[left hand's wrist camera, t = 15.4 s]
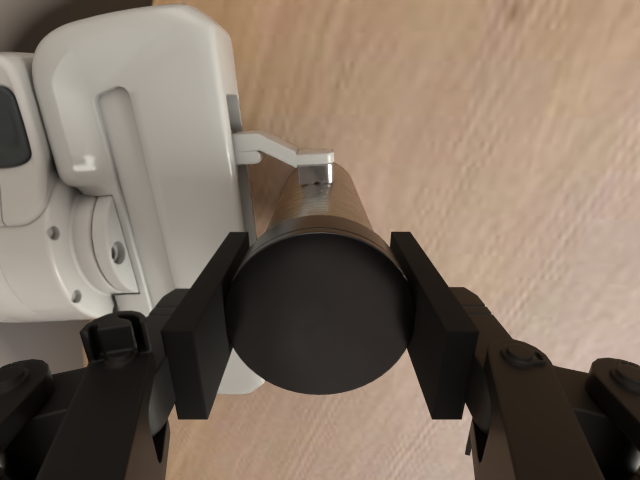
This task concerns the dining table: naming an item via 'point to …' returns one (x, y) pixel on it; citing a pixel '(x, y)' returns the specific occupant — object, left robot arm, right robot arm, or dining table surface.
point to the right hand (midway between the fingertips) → (336, 224)
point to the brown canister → (320, 200)
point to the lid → (319, 306)
